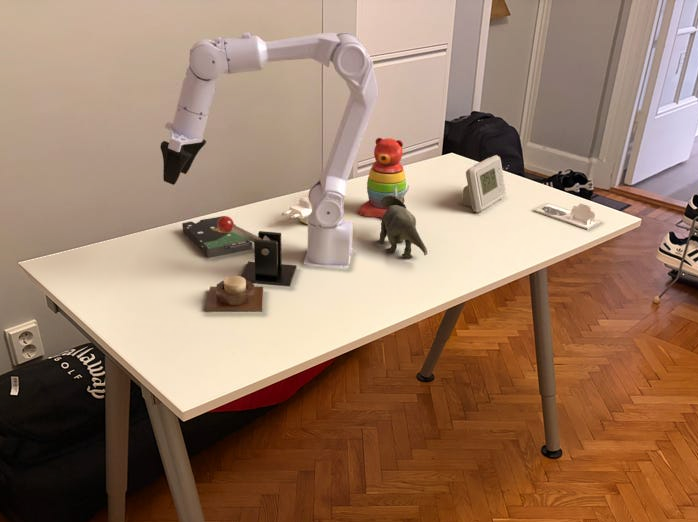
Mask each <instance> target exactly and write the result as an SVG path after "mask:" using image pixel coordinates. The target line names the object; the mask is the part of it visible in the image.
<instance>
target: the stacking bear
mask: <svg viewBox="0 0 698 522" xmlns="http://www.w3.org/2000/svg"><path fill="white" fill-rule="evenodd" d="M374 141H375V147H374V149H373V156H374V159H375V162H374V163H373V164H372V165H371V167H370V170H369V172H368V177H367V180H366V193H367V196H368V200H367V201H365V202H363V203H362V204H361V205H360V206H359V208H358V211H357V212H358V214H359V215H361V216H364V217H376V218H380V219H382V217H383V215H384V214H385V212H386V211H387V209H388V208H389V207H387V208H385V207H382V206H381V204H380V201H381V199H382V197H384V196H388V195H390V196H392V195H393V196H394V189H395V187H396V185H397V184H398V186H397V196H398V197H400V196H401V194H402V193H403V192H404V191H405V190H406V189H407V179H406V173H405V169H404V166H403V165H402V163H401V160H402V157H403V146H404V142H403V141H402V140H400V139H397V140H396V139H394V138H382V137H377V138H375V140H374Z"/></svg>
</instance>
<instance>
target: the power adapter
mask: <svg viewBox="0 0 698 522" xmlns="http://www.w3.org/2000/svg"><path fill="white" fill-rule="evenodd" d="M311 212H312V208H311V204H310V202H309V198H308V195H305V196H303V197H300V198H299V200H298V204H296V205H293V206H289V208H288V210H287V211H283V212H282V213H281V216H286V215H289V214H290V216H289V217H288V218H289V219H290V220H293V219H295V218H298V219H299V221H300V222H301V223H303V224H306V225H308V216H309V215H310V213H311Z"/></svg>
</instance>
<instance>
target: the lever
mask: <svg viewBox="0 0 698 522" xmlns="http://www.w3.org/2000/svg"><path fill="white" fill-rule="evenodd" d="M222 216H223V217H221V216H220V217H221V218H219V220H218V221H217V227H218V229H219V230H220V231H221V232H223V233H229V232H230V231H232V232H234V233H236V234H238V235H240V236H242V237H244V238H246V239H248V240H250V241H251V242H252V243H254V241H255V239H256V240H268V241H276V240H274V239H272V238H270V237H268V236H266V235H265V236H264V238H263V239H262V238H260V237H258V235H255V234H254V233H251V232H249V231H248V230H245V229H243V228H241V227H239V226H237V225H236V224H235V222H234V220H233V218H231V217H230V216H227V215H222ZM234 224H235V225H236V226H235V225H234Z"/></svg>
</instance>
